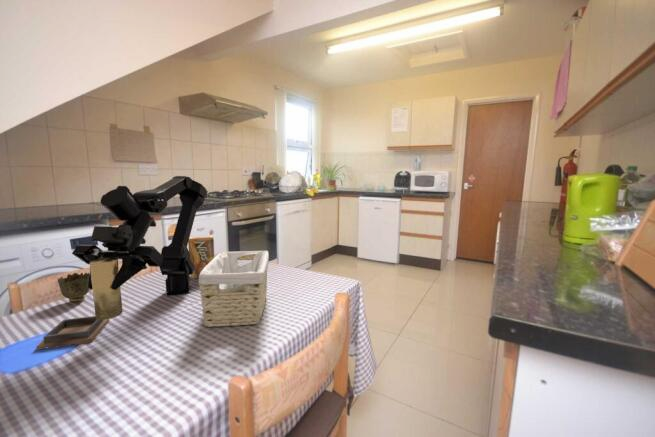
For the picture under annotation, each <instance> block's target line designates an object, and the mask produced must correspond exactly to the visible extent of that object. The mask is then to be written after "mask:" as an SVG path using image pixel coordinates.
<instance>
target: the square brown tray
mask: <svg viewBox="0 0 655 437" xmlns="http://www.w3.org/2000/svg"><path fill="white" fill-rule="evenodd" d="M109 323H110V319H106V320H98V319H96V317H95V315H94V316H93V315H92V316H83V317H77V318H76V317H75V318H74V317H73V318H67V319H65V318H64V319H62V321H61V322H59V323H57V325H56V326H55V327H53V328H52V329H51V330H50V331H49V332H47V333H46V334H45V335H44V336H42V338H43V340H42V341H41V342H39V343H38V344H37V345H36V350H37V349H38V350H42V349H41V348H45V349H50V348H49V347H52V348H57V347H56V346H59V347H64V346H63V345H66V346H72V345H71V344H74V345H79V344H86V343H92V342H94V340H96V338H97V337H98V336H99V334H100V333H101V332H102V331H103V330H104V328H105V327H106V326H107V324H109ZM46 347H48V348H46Z"/></svg>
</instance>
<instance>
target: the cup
mask: <svg viewBox="0 0 655 437" xmlns="http://www.w3.org/2000/svg"><path fill="white" fill-rule="evenodd" d="M89 274H90V272H84V273H83V272H81V273H80V274H79V273H78V272H74V273H72V274H70V273H69V274H67V275H66V277H63V276H60V277H59V278H57V283H58V286H59V290H60V293H61V294H62V296H63V297H64V298H66V299H68V303H69V304H76V303H81V302H83V301H84V300H85V298H86V296H85V295H87V294H88V293H89V291H90V289H89V288H88V282H89Z"/></svg>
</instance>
